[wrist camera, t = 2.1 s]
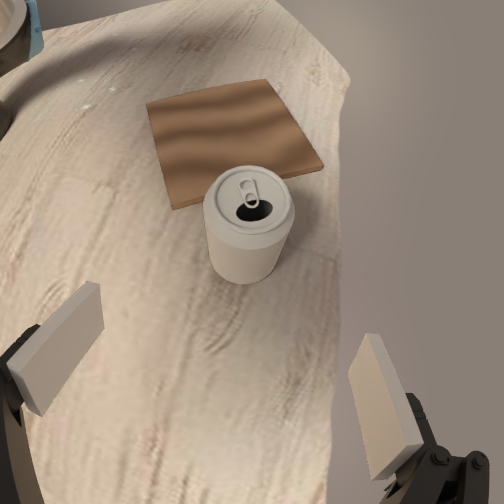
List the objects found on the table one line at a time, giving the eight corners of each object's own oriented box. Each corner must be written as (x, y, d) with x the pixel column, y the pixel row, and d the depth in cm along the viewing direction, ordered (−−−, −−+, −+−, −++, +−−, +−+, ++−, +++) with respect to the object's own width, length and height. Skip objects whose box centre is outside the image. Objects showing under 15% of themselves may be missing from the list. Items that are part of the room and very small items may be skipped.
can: (220, 295, 32) (217, 253, 21) (201, 234, 34) (190, 169, 23) (286, 275, 33) (315, 224, 22) (263, 217, 36) (278, 149, 25)
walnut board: (147, 109, 42) (145, 103, 41) (264, 84, 46) (265, 78, 45) (172, 210, 35) (171, 205, 34) (320, 170, 39) (323, 164, 38)
